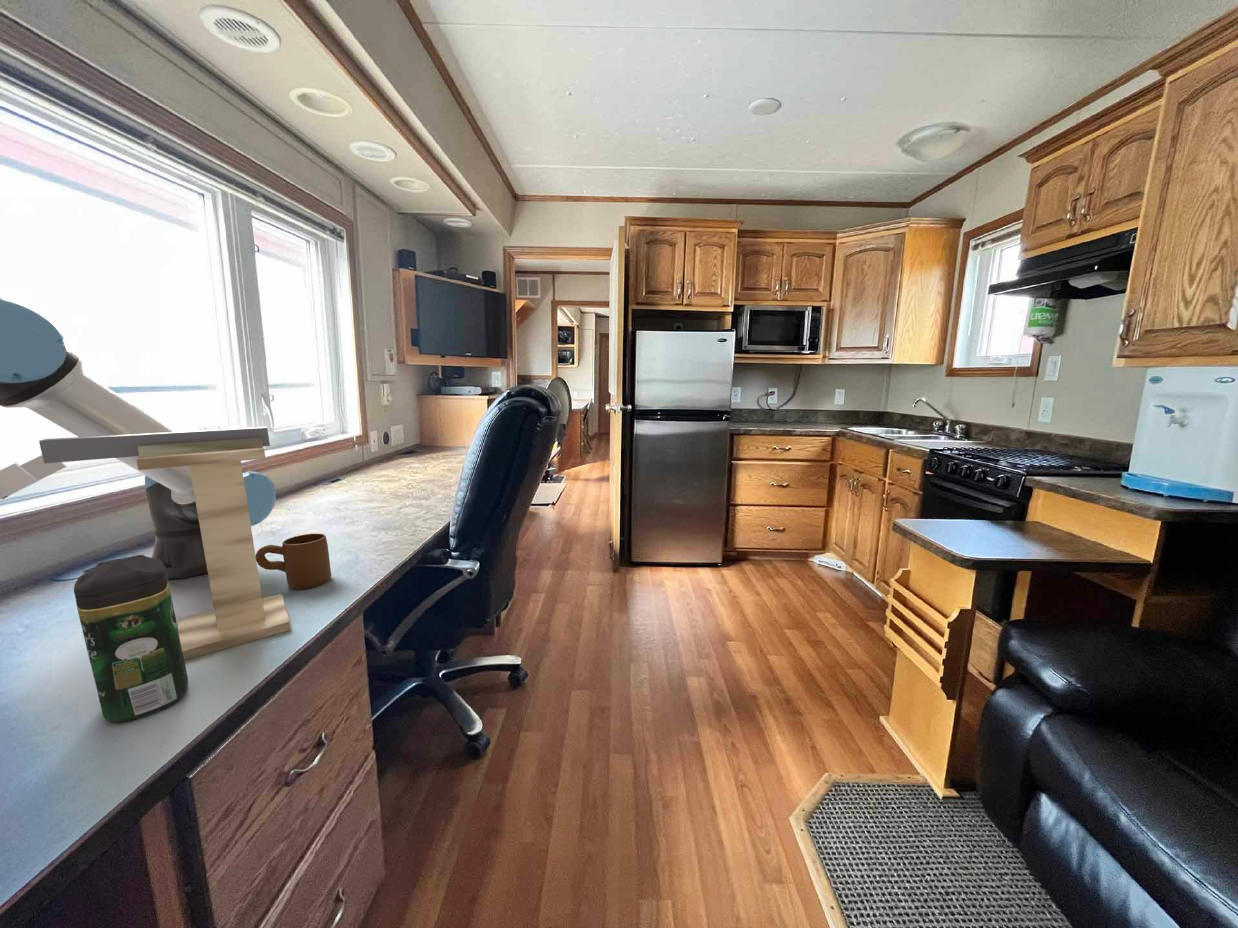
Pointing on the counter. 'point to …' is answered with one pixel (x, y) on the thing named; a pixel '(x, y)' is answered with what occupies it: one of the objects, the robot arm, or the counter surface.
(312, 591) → the counter surface
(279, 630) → the stand
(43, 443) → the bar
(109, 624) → the coffee jar
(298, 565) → the mug
